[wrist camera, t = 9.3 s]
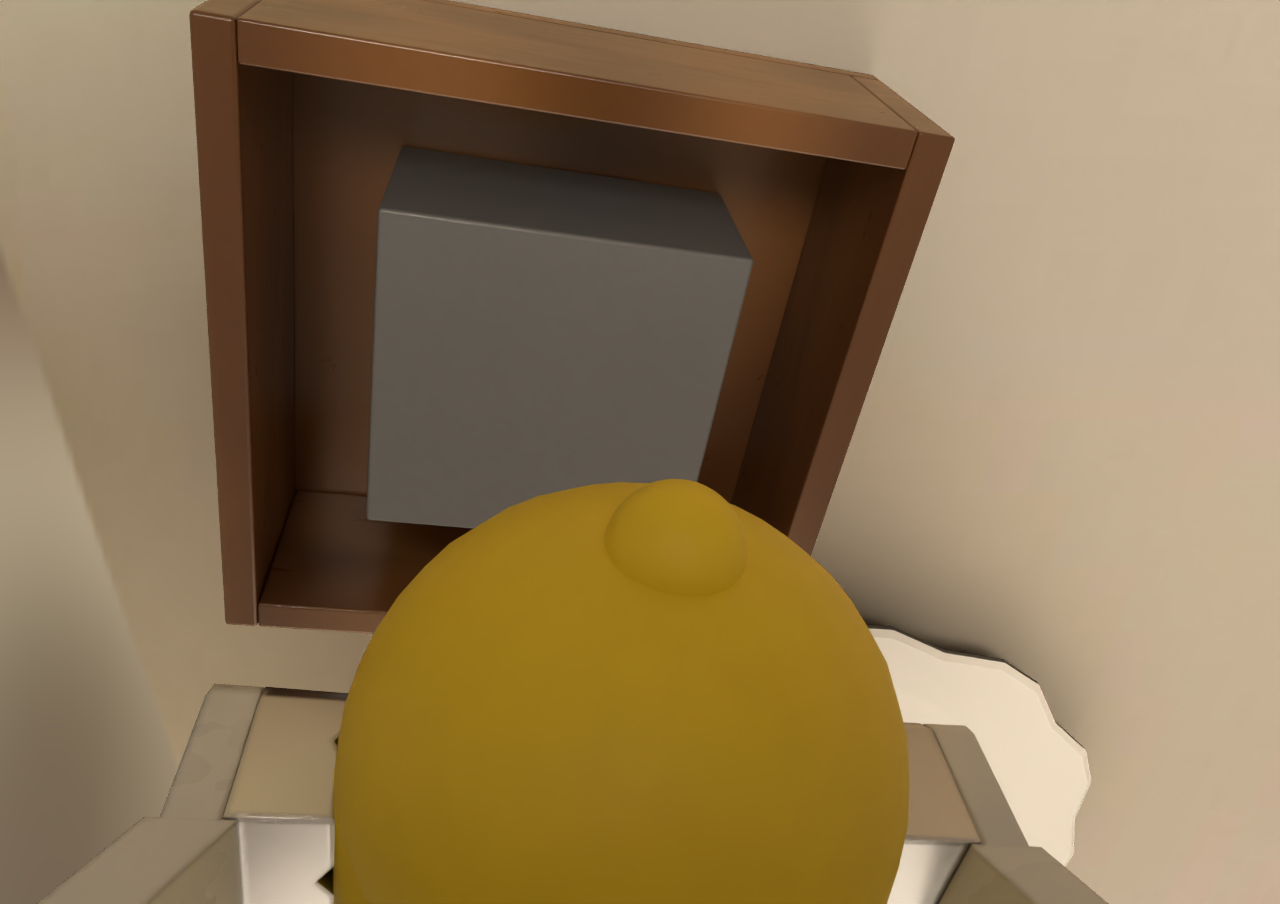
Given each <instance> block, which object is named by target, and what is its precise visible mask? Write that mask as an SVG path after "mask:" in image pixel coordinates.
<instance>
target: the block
mask: <svg viewBox="0 0 1280 904" xmlns="http://www.w3.org/2000/svg"><path fill="white" fill-rule="evenodd" d="M752 266H753V259H752V257H751V255H750V253H749V251H748V249H747V247H746V245H745V243H744V241H743V239H742V237H741V235H740V233H739V231H738V229H737V227H736V225H735V223H734V221H733V219H732V217H731V215H730V213H729V211H728V209H727V207H726V205H725V203H724V201H723V199H722V197H721V195H720V194H719V193H713V192H706V191H700V190H693V189H686V188H680V187H673V186H666V185H659V184H653V183H646V182H639V181H633V180H626V179H619V178H613V177H606V176H599V175H593V174H586V173H579V172H573V171H566V170H559V169H553V168H546V167H539V166H533V165H526V164H519V163H513V162H506V161H499V160H492V159H486V158H479V157H472V156H466V155H459V154H452V153H446V152H439V151H432V150H426V149H419V148H412V147H406V146H405V147H402V148H401V150H400V153H399V155H398V158H397V161H396V164H395V166H394V169H393V172H392V174H391V177H390V180H389V182H388V185H387V188H386V190H385V193H384V196H383V198H382V201H381V204H380V207H379V209H378V221H377V247H376V272H375V298H374V323H373V349H372V375H371V400H370V426H369V451H368V477H367V503H366V517H367V519H369V520H377V521H389V522H400V523H412V524H424V525H436V526H448V527H460V528H472V529H474V528H475V527H477V526H479V525H480V524H482V523H484V522H485V521H487V520H488V519H490V518H492V517H493V516H495V515H497V514H498V513H500V512H502V511H503V510H505V509H507V508H508V507H511V506H513V505H516V504H519V503H521V502H524V501H526V500H529V499H532V498H534V497H537V496H540V495H545V494H550V493H554V492H559V491H563V490H568V489H573V488H578V487H583V486H588V485H592V484H604V483H617V482H629V483H652V482H655V481H659V480H665V479H684V480H691V481H694V482H697V481H698V477H699V473H700V470H701V466H702V462H703V458H704V454H705V450H706V446H707V442H708V438H709V434H710V430H711V427H712V423H713V419H714V415H715V411H716V407H717V403H718V399H719V395H720V391H721V387H722V383H723V380H724V376H725V372H726V368H727V364H728V360H729V356H730V352H731V348H732V344H733V340H734V337H735V333H736V329H737V325H738V321H739V317H740V313H741V309H742V305H743V301H744V297H745V293H746V290H747V286H748V282H749V278H750V274H751V270H752Z"/></svg>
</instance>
